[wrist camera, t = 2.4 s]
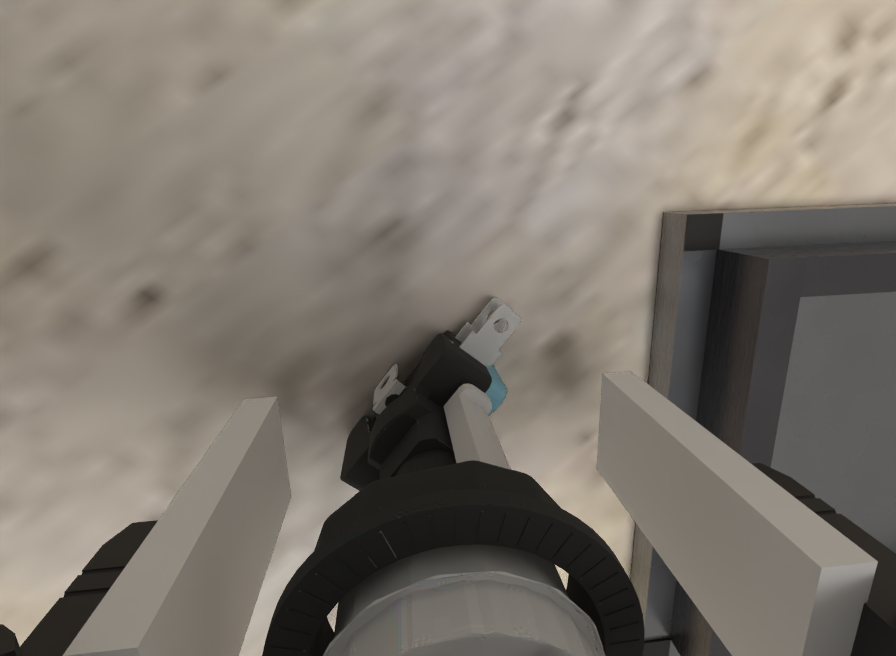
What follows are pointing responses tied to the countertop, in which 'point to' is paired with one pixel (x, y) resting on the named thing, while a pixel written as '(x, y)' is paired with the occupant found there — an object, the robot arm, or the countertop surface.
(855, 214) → the grey metal square tray
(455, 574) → the push button
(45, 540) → the countertop surface
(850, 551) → the robot arm
